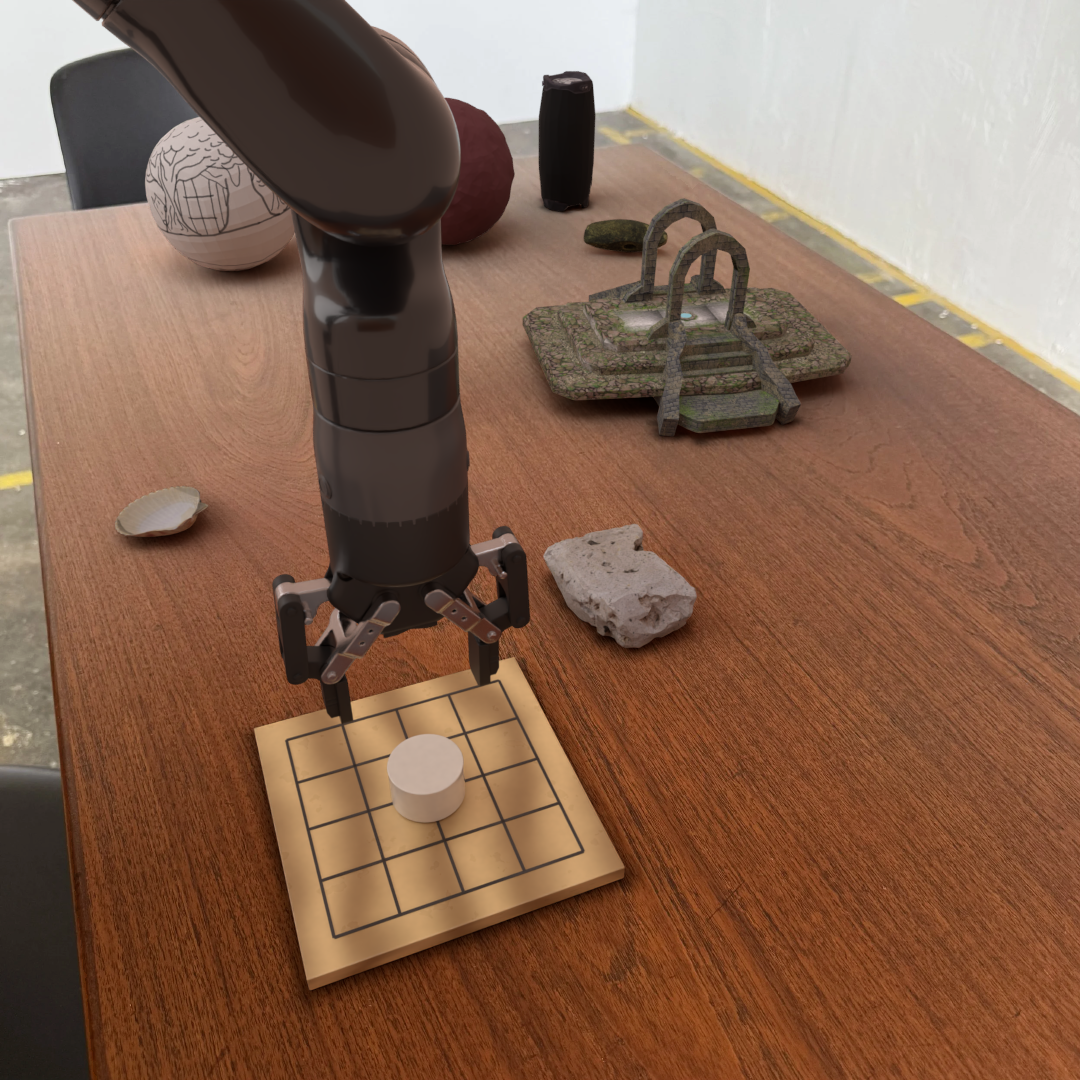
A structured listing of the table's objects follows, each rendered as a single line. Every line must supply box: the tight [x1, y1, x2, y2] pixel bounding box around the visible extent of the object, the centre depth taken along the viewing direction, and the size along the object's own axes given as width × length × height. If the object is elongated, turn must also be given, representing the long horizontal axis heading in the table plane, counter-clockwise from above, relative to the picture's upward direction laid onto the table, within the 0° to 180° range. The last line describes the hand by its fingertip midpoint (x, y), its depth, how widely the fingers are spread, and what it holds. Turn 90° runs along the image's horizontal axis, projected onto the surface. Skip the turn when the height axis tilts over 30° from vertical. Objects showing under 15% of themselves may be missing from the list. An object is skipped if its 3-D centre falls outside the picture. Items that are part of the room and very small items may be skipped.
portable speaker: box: [538, 70, 596, 212], centre depth 154 cm, size 9×9×20 cm
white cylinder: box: [387, 734, 465, 823], centre depth 64 cm, size 5×5×3 cm
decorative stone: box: [583, 218, 669, 253], centre depth 142 cm, size 11×8×5 cm
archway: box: [522, 197, 853, 437], centre depth 110 cm, size 35×34×18 cm
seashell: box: [114, 485, 209, 538], centre depth 89 cm, size 8×3×8 cm
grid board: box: [253, 656, 626, 991], centre depth 65 cm, size 20×20×1 cm
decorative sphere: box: [441, 97, 516, 246], centre depth 141 cm, size 20×20×20 cm
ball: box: [144, 116, 295, 272], centre depth 133 cm, size 20×20×20 cm
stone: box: [543, 523, 698, 649], centre depth 81 cm, size 13×6×10 cm
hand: (413, 694), depth 59 cm, fingers open, 8 cm apart
